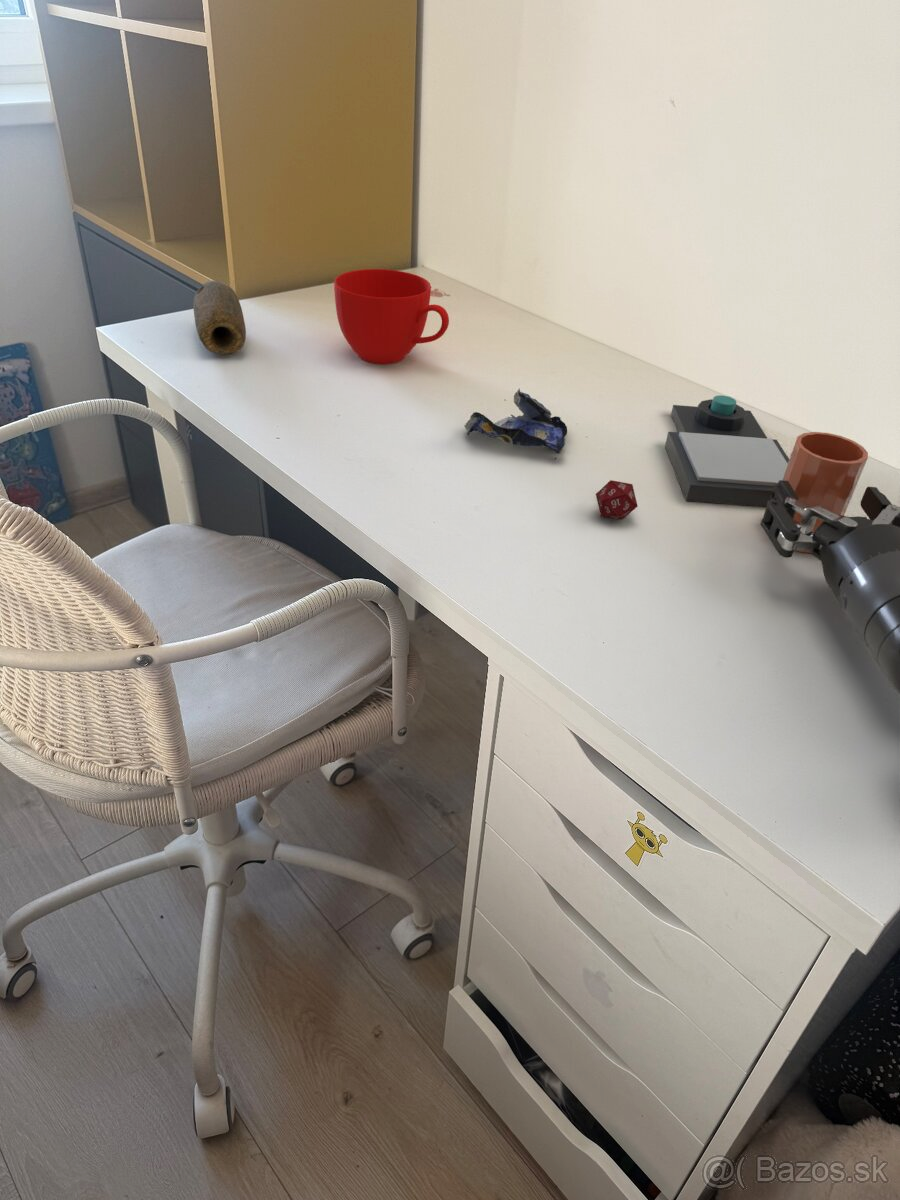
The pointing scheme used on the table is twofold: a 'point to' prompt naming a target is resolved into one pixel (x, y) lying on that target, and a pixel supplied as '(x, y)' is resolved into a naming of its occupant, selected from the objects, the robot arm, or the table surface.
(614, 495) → the dice
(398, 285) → the ceramic cup
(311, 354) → the table surface
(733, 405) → the button
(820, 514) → the robot arm
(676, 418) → the pad
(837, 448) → the cup
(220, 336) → the stone weight
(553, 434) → the snack package
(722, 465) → the scale
